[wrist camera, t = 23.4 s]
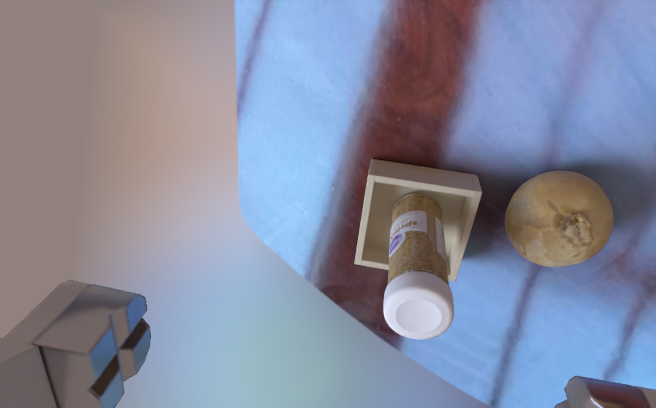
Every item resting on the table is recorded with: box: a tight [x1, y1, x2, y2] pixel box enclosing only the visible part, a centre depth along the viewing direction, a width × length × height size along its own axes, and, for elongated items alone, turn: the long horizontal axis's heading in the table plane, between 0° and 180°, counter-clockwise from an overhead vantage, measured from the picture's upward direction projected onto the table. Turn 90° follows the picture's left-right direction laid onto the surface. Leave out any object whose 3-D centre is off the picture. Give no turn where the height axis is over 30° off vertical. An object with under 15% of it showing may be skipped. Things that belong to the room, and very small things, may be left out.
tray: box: [355, 159, 482, 281], centre depth 41 cm, size 9×9×3 cm
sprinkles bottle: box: [384, 192, 454, 339], centre depth 35 cm, size 5×5×13 cm
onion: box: [505, 170, 614, 267], centre depth 37 cm, size 8×8×7 cm
